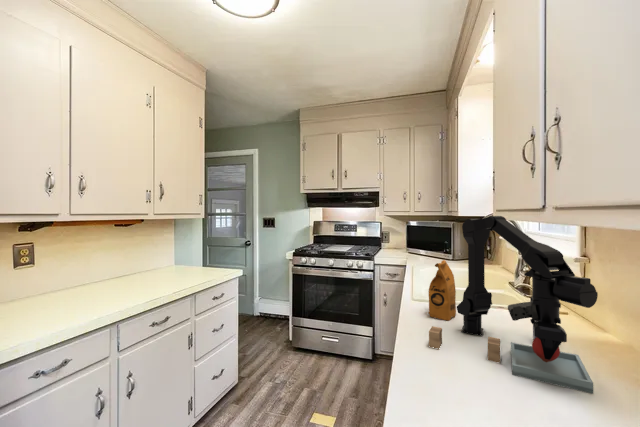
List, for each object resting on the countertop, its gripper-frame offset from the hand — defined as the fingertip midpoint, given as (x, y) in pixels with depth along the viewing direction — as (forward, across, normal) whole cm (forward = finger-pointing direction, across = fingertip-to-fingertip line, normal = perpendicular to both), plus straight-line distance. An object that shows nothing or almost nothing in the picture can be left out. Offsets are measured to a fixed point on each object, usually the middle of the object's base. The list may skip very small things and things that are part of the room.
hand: (545, 354), depth 78 cm
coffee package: (+4, -30, -31) cm, 43 cm away
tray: (+4, 0, 0) cm, 4 cm away
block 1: (+4, 0, -28) cm, 28 cm away
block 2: (+4, 0, -12) cm, 13 cm away
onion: (+2, 0, 0) cm, 2 cm away
